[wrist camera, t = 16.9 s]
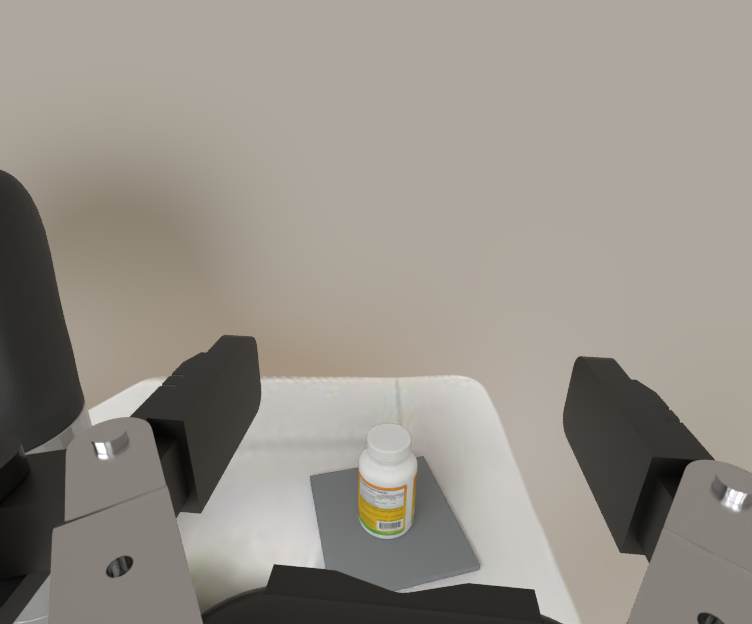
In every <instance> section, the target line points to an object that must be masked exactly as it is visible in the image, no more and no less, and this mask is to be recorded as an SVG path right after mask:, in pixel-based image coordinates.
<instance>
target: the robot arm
mask: <svg viewBox="0 0 752 624" xmlns="http://www.w3.org/2000/svg"><path fill="white" fill-rule="evenodd" d="M260 400H261V382H260V373H259V362H258V352H257V344H256V340H255V338H254V337H249V336H234V335H224V336H222V337H221V338H220V339H219V340H218V341H217V342H216V343H215V344H214V345H213V347H211V348H210V350H209V351H208V352H207V353H203V352H202V353H199V354H197V355H196V356H194V357H192V358H190V359H188V360H186V361H185V362H183V363H182V364H181V365H180V366H179V367H178V368H177V369H176V370H175V371H174V372H173V373H172V376H169V377H168V378H167V379H166V380H165V381H164V382H163V383H162V386H160V387H159V388H158V389H157V390H156V391H155V392H154V393H153V394H152V395H151V396H150V397H149V398H148V399H147V400H146V401H145V402H144V403H143V404H142V405H141V406H140V407H139V408H138V409H137V410H136V411H135V412H134V413H133V414H132V415H131V416H130V417H125V418H116V419H112V420H108V421H104V422H101V423H99V424H96V425H94V426H92V424H91V420H90V417H89V413H88V410H87V406H86V403H85V400H84V395H83V392H82V389H81V385H80V382H79V378H78V373H77V368H76V363H75V359H74V354H73V349H72V345H71V341H70V338H69V334H68V331H67V327H66V323H65V319H64V315H63V311H62V306H61V301H60V297H59V292H58V287H57V282H56V277H55V272H54V268H53V262H52V257H51V252H50V249H49V244H48V240H47V236H46V232H45V229H44V226H43V223H42V220H41V217H40V215H39V212H38V209H37V207H36V205H35V204H34V202H33V200H32V198H31V196H30V194H29V193H28V192H27V190H26V189H25V188H24V186H23V185H22V184H21V183H20V182H19V181H18V180H17V179H16V178H15V177H13V176H12V175H10V174H9V173H7V172H5V171H2V170H0V624H562V623H560V622H558V621H556V620H553V619H551V618H549V617H546V616H544V615H541V614H540V610H539V606H538V602H537V598H536V594H535V590H533V589H523V588H512V587H502V586H492V585H481V584H471V583H467V584H460V585H454V586H448V587H441V588H435V589H429V590H423V591H416V592H410V593H397V592H394V591H391V590H388V589H385V588H383V587H380V586H377V585H375V584H372V583H369V582H366V581H364V580H361V579H358V578H355V577H353V576H350V575H347V574H344V573H342V572H339V571H336V570H327V569H317V568H306V567H296V566H286V565H276V564H274V566H273V569H272V572H271V575H270V578H269V581H268V584H267V586H266V587H261V588H256V589H252V590H249V591H245V592H242V593H239V594H237V595H234V596H232V597H229V598H227V599H225V600H223V601H221V602H219V603H217V604H215V605H214V606H212V607H210V608H208V609H207V610H205V611H204V612H202V613H201V614H200V610H199V606H198V602H197V599H196V595H195V591H194V587H193V583H192V579H191V575H190V571H189V568H188V564H187V560H186V556H185V552H184V548H183V544H182V540H181V537H180V533H179V529H178V525H177V521H176V518H177V516H178V514H179V513H180V512H189V513H202V511H203V509H204V507H205V505H206V504H207V502H208V500H209V498H210V496H211V495H212V493H213V491H214V489H215V487H216V486H217V484H218V482H219V480H220V479H221V477H222V475H223V473H224V471H225V470H226V468H227V466H228V464H229V462H230V461H231V459H232V457H233V455H234V453H235V452H236V450H237V448H238V446H239V444H240V443H241V441H242V439H243V437H244V435H245V434H246V432H247V430H248V428H249V426H250V425H251V423H252V421H253V419H254V417H255V416H256V414H257V412H258V409H259V405H260ZM563 426H564V432H565V435H566V437H567V439H568V442H569V444H570V446H571V448H572V450H573V453H574V455H575V457H576V459H577V461H578V463H579V465H580V468H581V470H582V472H583V474H584V476H585V478H586V480H587V483H588V485H589V487H590V489H591V491H592V493H593V495H594V498H595V500H596V502H597V504H598V506H599V508H600V510H601V513H602V515H603V517H604V519H605V521H606V523H607V526H608V528H609V530H610V532H611V534H612V536H613V538H614V541H615V543H616V545H617V547H618V549H619V551H620V553H629V554H640V555H645V556H646V558H647V560H648V562H649V566H648V569H647V571H646V574H645V577H644V579H643V582H642V585H641V587H640V590H639V592H638V595H637V598H636V600H635V603H634V606H633V608H632V611H631V614H630V616H629V619H628V622H627V624H752V473H750V472H748V471H746V470H744V469H742V468H739V467H737V466H734V465H731V464H728V463H724V462H719V461H715V460H714V458H713V457H712V456H711V455H710V454H709V453H708V452H707V450H706V449H705V448H704V447H703V446H702V445H701V443H700V442H699V441H698V440H697V439H696V438H695V437H694V435H693V434H692V433H691V432H690V431H689V430H688V429H687V428H686V426H685V425H684V424H683V423H680V421H679V418H678V417H677V416H676V415H675V414H674V413H673V411H672V410H669V407H668V406H667V405H666V403H665V402H664V401H663V400H662V399H661V398H660V397H659V396H658V394H657V393H656V392H654V391H653V390H651V389H650V388H648V387H646V386H645V385H643V384H642V383H640V382H639V381H637V380H631V379H630V378H629V377H628V375H627V374H626V373H625V372H624V371H623V369H622V368H621V367H620V366H619V364H618V363H617V362H616V361H615V360H614V359H613V358H599V357H582V356H580V357H578V358H577V359H576V361H575V363H574V367H573V371H572V375H571V380H570V384H569V389H568V393H567V398H566V402H565V407H564V412H563Z"/></svg>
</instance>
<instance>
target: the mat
mask: <svg viewBox="0 0 752 624" xmlns="http://www.w3.org/2000/svg"><path fill="white" fill-rule="evenodd" d="M416 459H417V479H416V493H415V508H414V519H413V523H412V525H411V527H410V529H409V530H408V531H407V532H406V533H405V534H403V535H402V536H399V537H397V538H392V539H383V538H378V537H375V536H373V535H371V534H369V533H368V532H367V531H366V530H365V529H364V528H363V527H362V525H361V523H360V520H359V512H358V468H354V469H348V470H342V471H337V472H331V473H325V474H319V475H314V476H310V481H311V487H312V492H313V498H314V504H315V510H316V515H317V521H318V527H319V533H320V538H321V544H322V550H323V556H324V561H325V567H326V569H327V570H336V571H339V572H342V573H344V574H347V575H350V576H353V577H355V578H358V579H361V580H364V581H366V582H369V583H372V584H375V585H377V586H380V587H383V588H385V589H388V590H391V591H395V590H399V589H403V588H408V587H412V586H416V585H420V584H424V583H428V582H432V581H436V580H440V579H444V578H448V577H452V576H456V575H460V574H464V573H468V572H472V571H476V570H479V567H480V564H479V562H478V560H477V558H476V557H475V555H474V553H473V551H472V549H471V547H470V545H469V543H468V541H467V539H466V537H465V535H464V533H463V531H462V530H461V528H460V526H459V524H458V522H457V520H456V518H455V516H454V514H453V512H452V510H451V508H450V506H449V505H448V503H447V501H446V499H445V497H444V495H443V493H442V491H441V489H440V487H439V485H438V483H437V481H436V480H435V478H434V476H433V474H432V472H431V470H430V468H429V466H428V464H427V462H426V460H425V458H424V456H422V457H417V458H416Z"/></svg>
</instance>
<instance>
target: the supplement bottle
mask: <svg viewBox="0 0 752 624" xmlns="http://www.w3.org/2000/svg"><path fill="white" fill-rule="evenodd" d="M416 479H417V459H416V456H415V454H414V452H413V451H412V450H411V435H410V433H409V431H408V430H407V429H405V428H404V427H402V426H400V425H397V424H393V423H384V424H379V425H376V426H374V427H373V428H372V429H370V431H369V432H368V434H367V444H366V448H365V449H364V450H363V451H362V453H361V455H360V457H359V465H358V512H359V520H360V523H361V525H362V527H363V528H364V529H365V530H366V531H367V532H368V533H369V534H371V535H373V536H375V537H378V538H383V539H392V538H397V537H399V536H402V535H403V534H405V533H406V532H407V531H408V530H409V529H410V527H411V525H412V523H413V519H414V508H415V493H416Z"/></svg>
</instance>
